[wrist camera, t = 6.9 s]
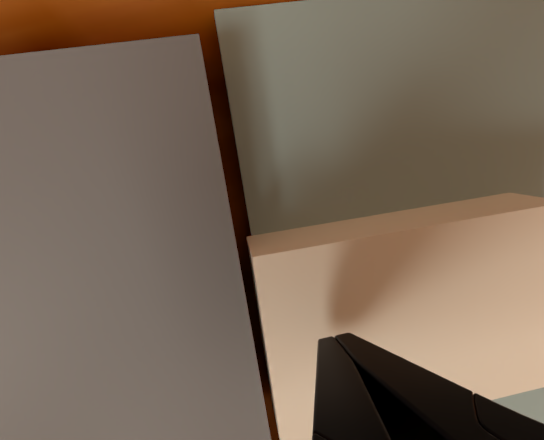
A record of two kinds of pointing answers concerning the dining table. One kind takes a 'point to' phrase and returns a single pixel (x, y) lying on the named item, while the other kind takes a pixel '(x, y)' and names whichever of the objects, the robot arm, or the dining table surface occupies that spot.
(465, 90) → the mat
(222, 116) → the dining table surface
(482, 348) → the tile
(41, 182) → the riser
